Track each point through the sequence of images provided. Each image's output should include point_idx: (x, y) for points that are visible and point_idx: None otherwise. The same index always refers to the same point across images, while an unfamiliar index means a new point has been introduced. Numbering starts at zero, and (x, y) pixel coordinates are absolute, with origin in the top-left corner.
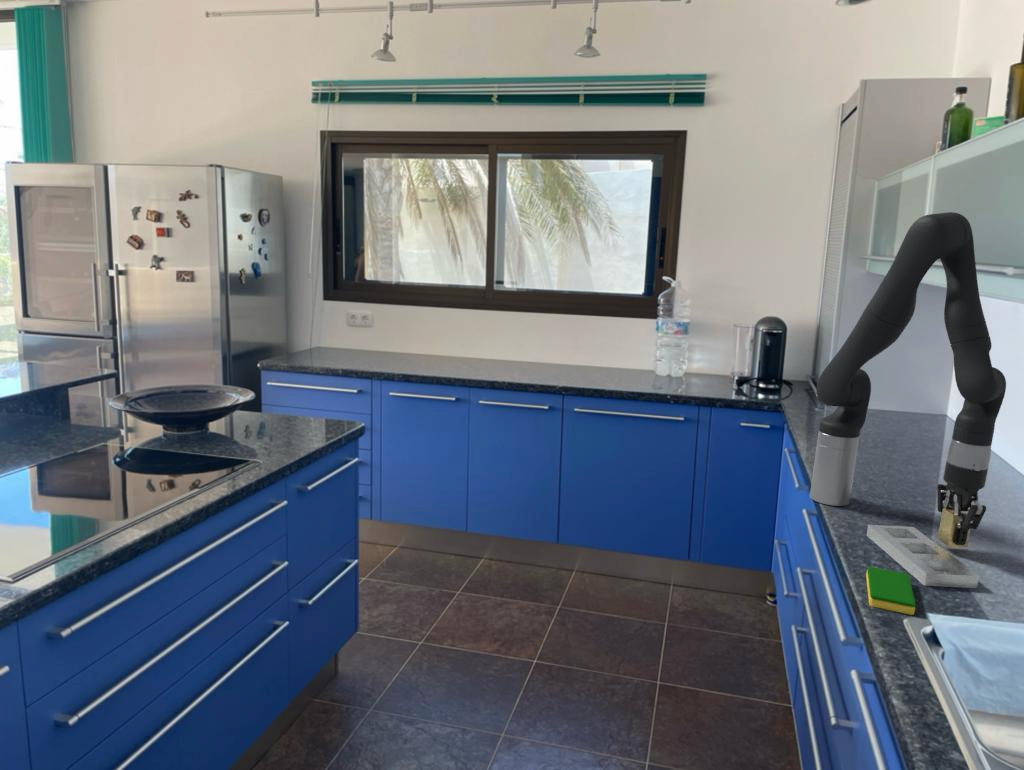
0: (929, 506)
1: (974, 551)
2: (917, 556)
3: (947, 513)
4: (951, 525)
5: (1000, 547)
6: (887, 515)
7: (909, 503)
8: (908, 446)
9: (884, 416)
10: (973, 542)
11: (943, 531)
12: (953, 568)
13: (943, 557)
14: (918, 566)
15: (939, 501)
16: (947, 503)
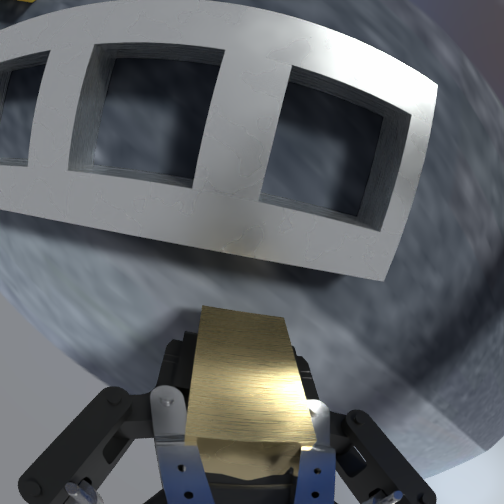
0: (444, 403)
1: None
2: (66, 49)
3: (257, 428)
4: (194, 378)
5: None
6: (476, 299)
7: (469, 377)
8: (500, 423)
9: None
10: None
11: (254, 344)
12: (7, 162)
13: (45, 165)
14: (16, 24)
15: (379, 449)
16: (299, 479)
